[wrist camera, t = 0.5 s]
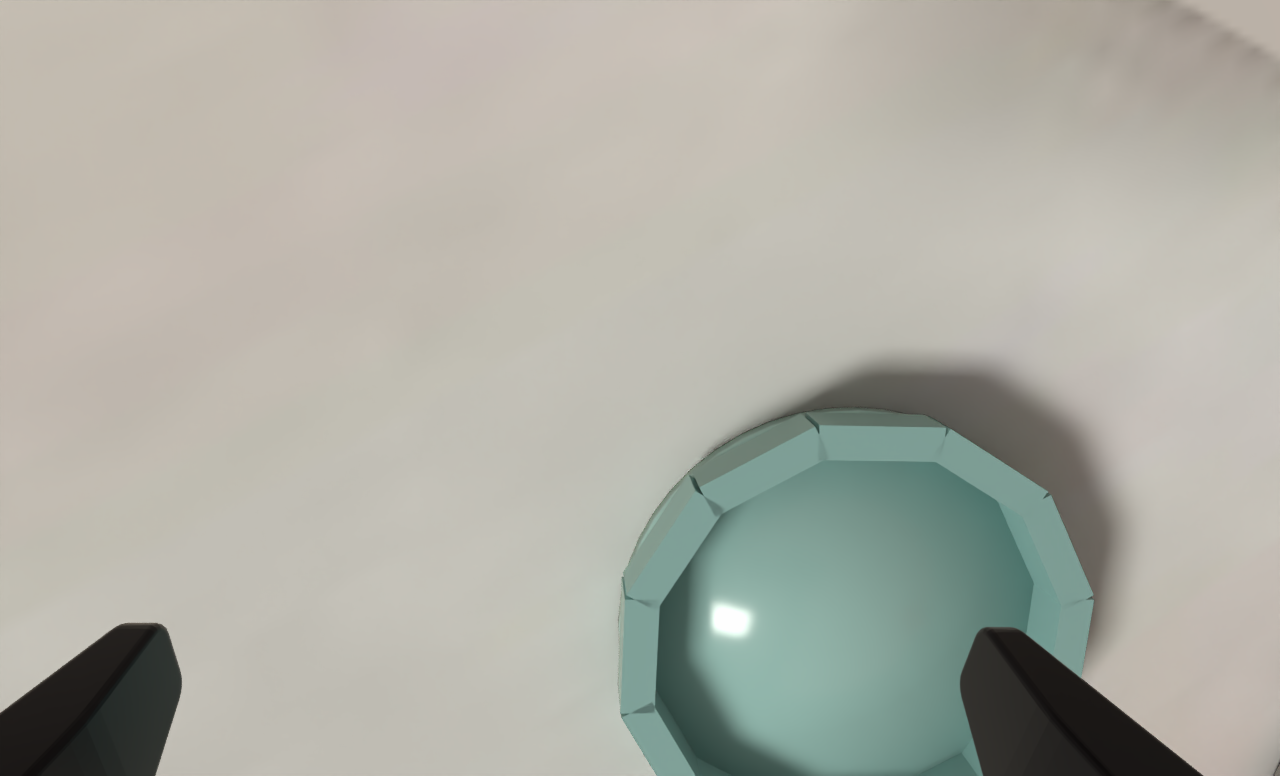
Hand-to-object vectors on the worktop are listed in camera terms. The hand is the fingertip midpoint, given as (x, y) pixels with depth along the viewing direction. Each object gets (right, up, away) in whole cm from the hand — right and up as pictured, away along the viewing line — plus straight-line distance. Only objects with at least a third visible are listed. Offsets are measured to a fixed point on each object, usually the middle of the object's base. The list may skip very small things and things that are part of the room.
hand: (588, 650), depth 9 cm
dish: (+7, -4, +17) cm, 19 cm away
